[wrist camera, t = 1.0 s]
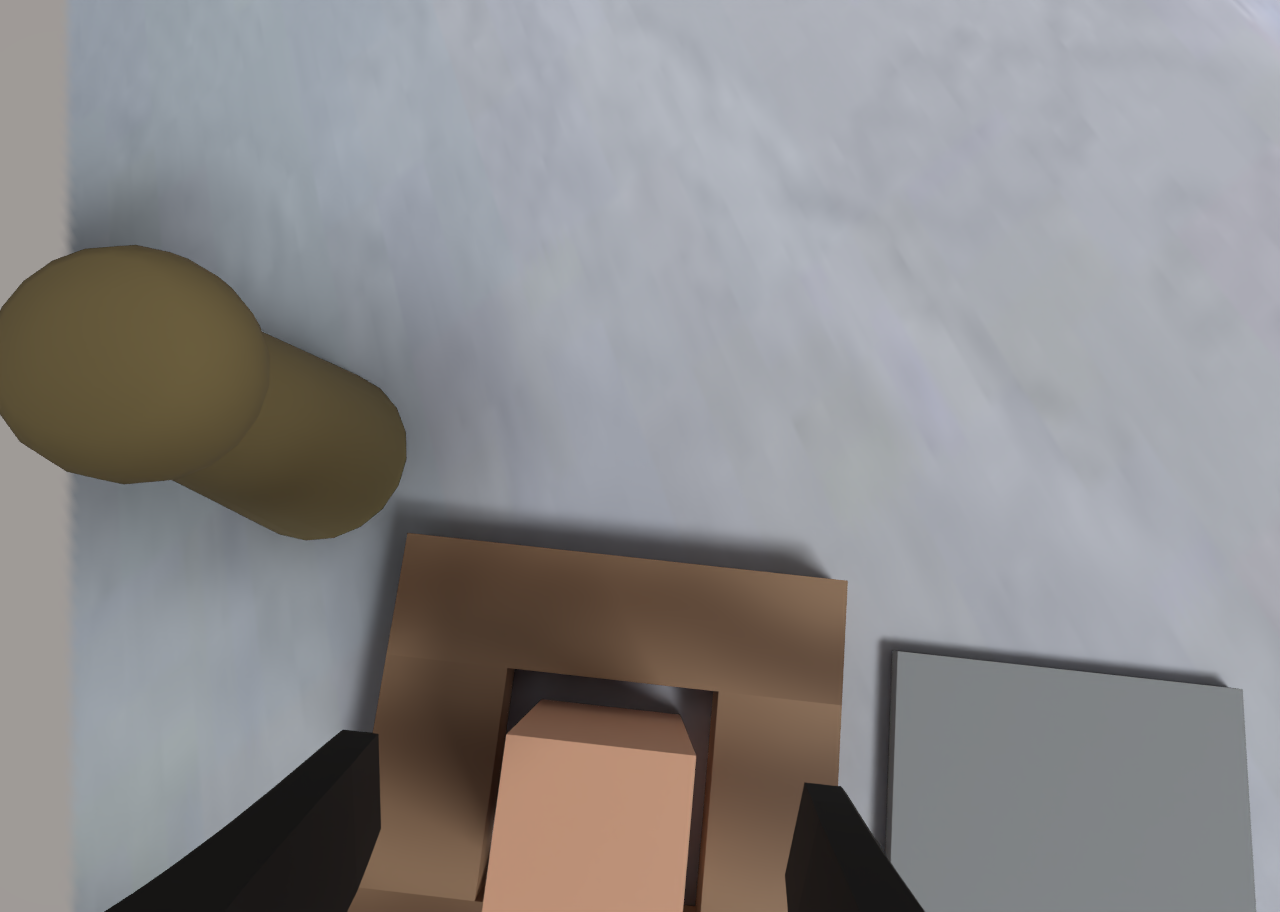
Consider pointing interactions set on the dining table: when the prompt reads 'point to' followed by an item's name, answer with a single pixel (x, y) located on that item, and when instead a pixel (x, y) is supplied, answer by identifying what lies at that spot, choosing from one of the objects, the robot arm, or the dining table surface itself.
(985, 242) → the dining table surface
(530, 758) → the block
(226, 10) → the dining table surface
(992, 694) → the mat
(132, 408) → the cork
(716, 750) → the holder
